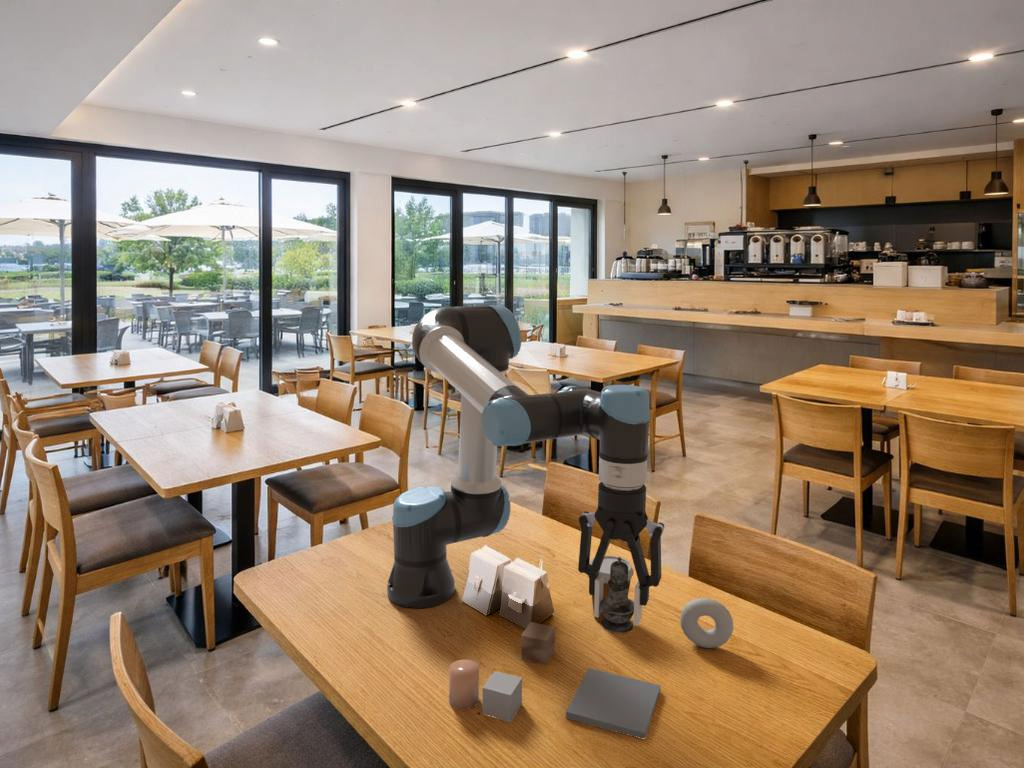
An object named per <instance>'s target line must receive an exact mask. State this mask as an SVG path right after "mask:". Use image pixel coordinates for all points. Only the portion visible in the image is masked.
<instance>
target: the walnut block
mask: <svg viewBox="0 0 1024 768" xmlns="http://www.w3.org/2000/svg"><path fill="white" fill-rule="evenodd" d="M520 638H521V639H520V641H521V642H520V644H521V646H520V647H521V649H520V651H521V652H520V659H521V660H525V661H527V662H531V663H532V662H533V663H537V664H541V665H545V666H547V664H548V663H549V661H550V660H551V658H552V656H553V655H554V653H555V652H556V627H555V626H550V625H546V624H541V623H537V622H533V621H530V622H529V624H528V625H527V627H526V628H525V629H524V631H523V632H521V635H520Z"/></svg>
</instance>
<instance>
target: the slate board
mask: <svg viewBox="0 0 1024 768" xmlns="http://www.w3.org/2000/svg"><path fill="white" fill-rule="evenodd" d="M660 694H661V685H660V684H657V683H654V682H653V683H652V682H649V681H644V680H641V679H637V678H631V677H627V676H625V675H620V674H616V673H612V672H607V671H604V670H600V669H595V668H591V667H588V668H587V670H586V672H585V673H584V676H583V678H582V680H581V681H580V684H579V685H578V687H577V690H576V691H575V693H574V695H573V697H572V700H571V701H570V703H569V705H568V707H567V708H566V711H565V719H569V720H571V721H574V722H577V723H578V722H579V723H581V724H582V723H583V724H586V725H590V726H592V727H597V728H599V729H600V728H601V729H603V728H604V729H603V730H607V729H608V730H607V731H610V730H613V731H612V732H614V731H617V732H616V733H618V732H620V733H619V734H621V733H624V734H623V735H625V734H629V735H632V736H635V737H634V738H636V736H637V737H640V738H645V737H647V735H648V732H647V730H648V731H649V729H648V727H649V728H650V726H649V724H650V725H651V722H652V719H653V716H652V715H654V713H653V712H654V711H655V710H656V707H655V706H657V704H658V700H659V696H660ZM654 709H655V710H654ZM651 718H652V719H651ZM650 721H651V722H650ZM646 734H647V735H646ZM632 736H631V737H632ZM645 739H646V738H645Z"/></svg>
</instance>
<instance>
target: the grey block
mask: <svg viewBox="0 0 1024 768" xmlns="http://www.w3.org/2000/svg"><path fill="white" fill-rule="evenodd" d="M521 704H523V677H520V676H517V675H514V674H508V673H506V672H505V673H504V672H501V671H497V670H494V671H493V673H491V675H490V677H489V678H488V679H487V680H486V682H485V683H484V685H483V686H482V715H483V714H486V715H490V716H494V717H496V718H495V719H497V718H499V719H498V720H500V719H501V720H500V721H503V720H505V722H507V721H508V722H507V723H511V722H512V721H513V719H514V718H513V717H515V716H516V715H517V713H518V711H519V709H520V708H521V706H522V705H521ZM516 712H517V713H516ZM486 715H485V716H486ZM490 716H489V717H490Z"/></svg>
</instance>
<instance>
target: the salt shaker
mask: <svg viewBox="0 0 1024 768" xmlns="http://www.w3.org/2000/svg"><path fill="white" fill-rule="evenodd" d="M618 557H619V558H618V561H615V562H613V563H612V564H611V568H610V580H609V581H608V585H609V596H608V597H606V598H604V599H603V600H602V601H601V602H600V607H601V608H602V612H603V614H604V616H605V617H606V618H604V619H603V620H602V622H601V623H600V624H601V625H600V626H601V627H602V628H603V629H604V630H605V631H607V632H609V633H612V634H618V635H619V634H623V635H624V634H628V633H631V632H632V631H633V630H634V626H635V625H633V621H631V619H632V618H633V617H634V600H632V599H629V593H628V587H629V586H631V582H630V583H629V582H628V566H627V564H626V563H624V562H622V561H621V560H622V559H621V558H622V557H621V556H618ZM620 557H621V558H620ZM629 588H630V587H629Z"/></svg>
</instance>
